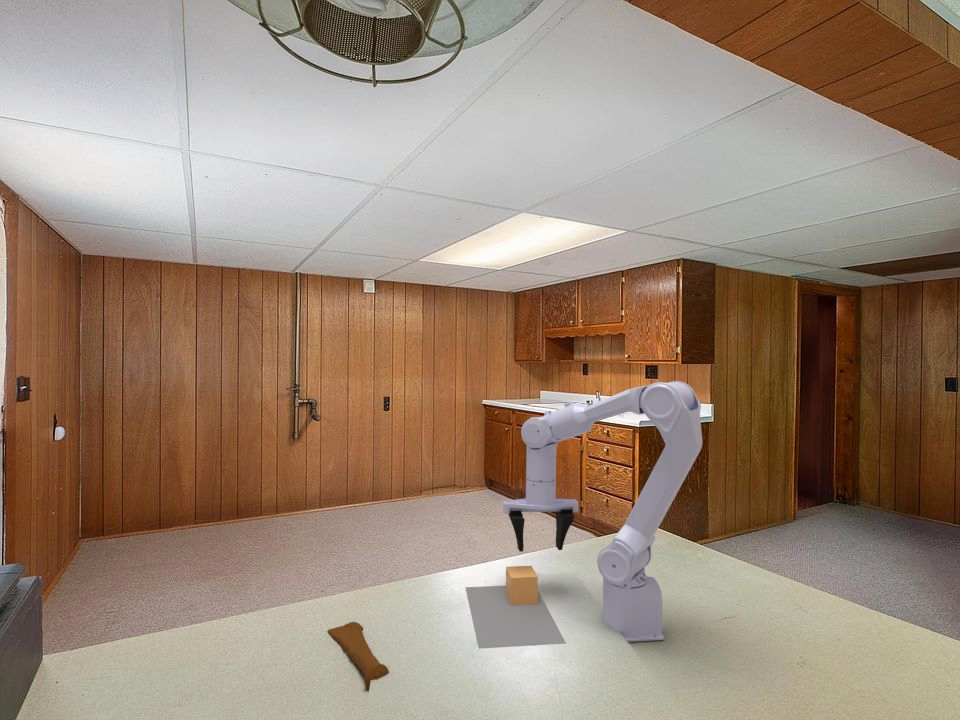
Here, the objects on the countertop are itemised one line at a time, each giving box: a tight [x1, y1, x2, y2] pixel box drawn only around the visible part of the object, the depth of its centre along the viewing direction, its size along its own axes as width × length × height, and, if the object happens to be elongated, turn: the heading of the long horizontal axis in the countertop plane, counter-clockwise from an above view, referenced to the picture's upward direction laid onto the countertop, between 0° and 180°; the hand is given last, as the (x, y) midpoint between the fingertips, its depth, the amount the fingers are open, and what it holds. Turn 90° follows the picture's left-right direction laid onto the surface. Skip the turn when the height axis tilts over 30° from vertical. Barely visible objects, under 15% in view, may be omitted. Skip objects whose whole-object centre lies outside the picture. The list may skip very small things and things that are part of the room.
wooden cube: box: [505, 565, 539, 605], centre depth 95 cm, size 5×5×5 cm
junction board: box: [465, 585, 567, 649], centre depth 90 cm, size 14×21×4 cm, turn 7°
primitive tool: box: [326, 621, 390, 691], centre depth 79 cm, size 19×6×4 cm, turn 33°
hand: (539, 549), depth 98 cm, fingers open, 7 cm apart
